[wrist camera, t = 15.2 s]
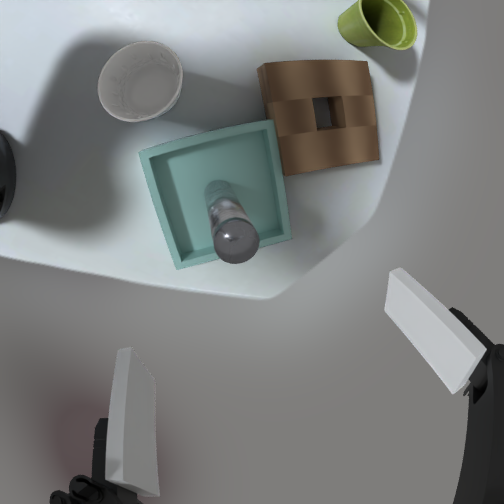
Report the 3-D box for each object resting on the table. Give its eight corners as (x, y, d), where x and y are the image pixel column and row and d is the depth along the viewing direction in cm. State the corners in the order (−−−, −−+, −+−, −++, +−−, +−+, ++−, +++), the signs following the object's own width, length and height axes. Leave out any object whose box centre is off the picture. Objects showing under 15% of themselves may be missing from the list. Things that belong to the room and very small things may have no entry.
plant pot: (389, 46, 29) (427, 39, 21) (350, 66, 30) (388, 59, 23) (357, -2, 24) (391, -18, 17) (314, 14, 26) (345, -6, 18)
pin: (207, 209, 35) (220, 268, 22) (201, 183, 33) (208, 228, 20) (234, 202, 36) (262, 257, 23) (228, 176, 34) (255, 216, 21)
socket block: (275, 170, 36) (285, 176, 32) (256, 69, 29) (264, 63, 25) (363, 155, 37) (379, 159, 33) (351, 64, 30) (367, 61, 27)
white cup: (188, 114, 30) (187, 111, 21) (126, 128, 29) (102, 131, 20) (182, 56, 26) (178, 33, 17) (119, 70, 25) (94, 54, 16)
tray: (177, 259, 38) (176, 270, 36) (142, 150, 31) (138, 152, 28) (285, 230, 40) (291, 238, 37) (266, 119, 32) (273, 119, 29)
